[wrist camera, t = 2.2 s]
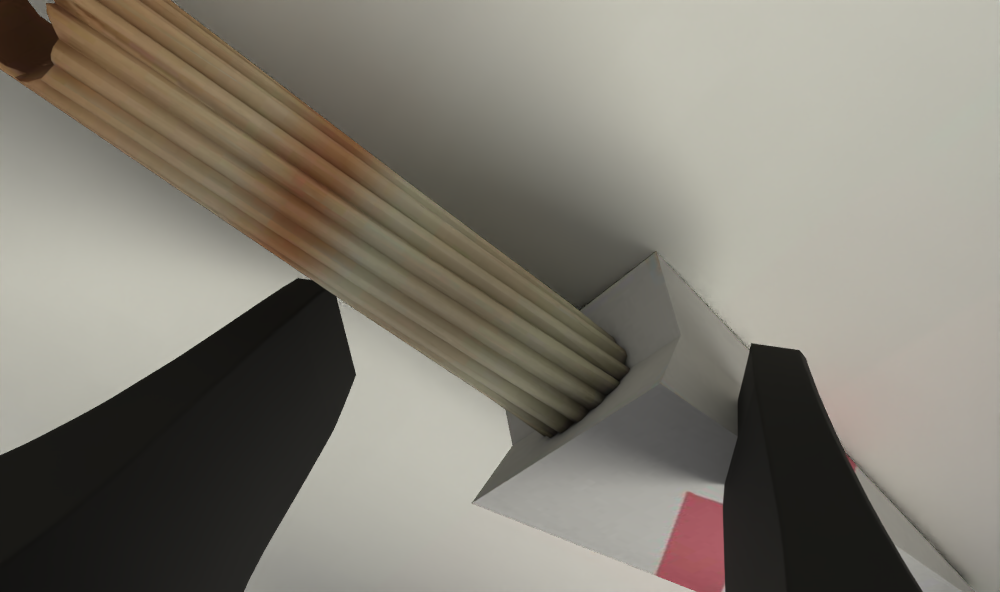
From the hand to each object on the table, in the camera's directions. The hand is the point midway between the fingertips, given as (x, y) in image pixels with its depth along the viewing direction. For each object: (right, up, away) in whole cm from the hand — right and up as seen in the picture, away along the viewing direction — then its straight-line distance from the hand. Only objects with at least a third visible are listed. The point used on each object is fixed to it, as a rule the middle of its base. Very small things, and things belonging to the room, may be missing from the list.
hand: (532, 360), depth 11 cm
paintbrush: (0, +1, +1) cm, 2 cm away
